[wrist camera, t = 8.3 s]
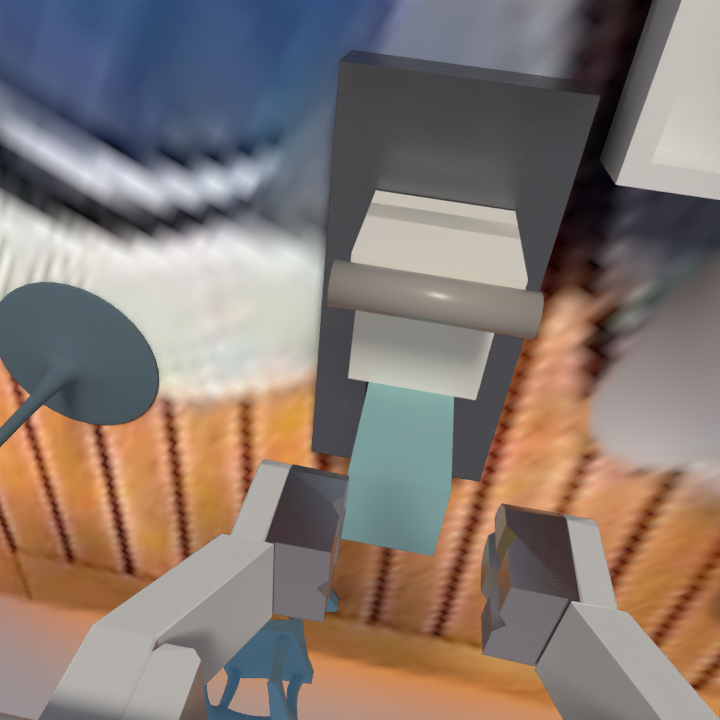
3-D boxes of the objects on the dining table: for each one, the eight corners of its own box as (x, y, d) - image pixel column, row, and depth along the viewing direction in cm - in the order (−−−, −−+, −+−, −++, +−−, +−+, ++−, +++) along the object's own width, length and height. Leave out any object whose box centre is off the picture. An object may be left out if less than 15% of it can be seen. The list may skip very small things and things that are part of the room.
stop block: (384, 316, 32) (347, 472, 23) (456, 328, 32) (450, 491, 22) (375, 374, 35) (339, 538, 25) (443, 385, 34) (433, 556, 25)
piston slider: (364, 188, 25) (329, 266, 19) (527, 213, 25) (547, 301, 18) (348, 341, 30) (315, 446, 24) (485, 365, 29) (489, 477, 23)
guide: (352, 50, 25) (339, 60, 23) (587, 82, 24) (600, 96, 22) (321, 418, 37) (311, 451, 35) (478, 446, 37) (479, 481, 34)
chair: (322, 536, 44) (281, 702, 34) (339, 602, 48) (307, 766, 39) (226, 533, 45) (160, 691, 36) (251, 598, 50) (199, 754, 40)
